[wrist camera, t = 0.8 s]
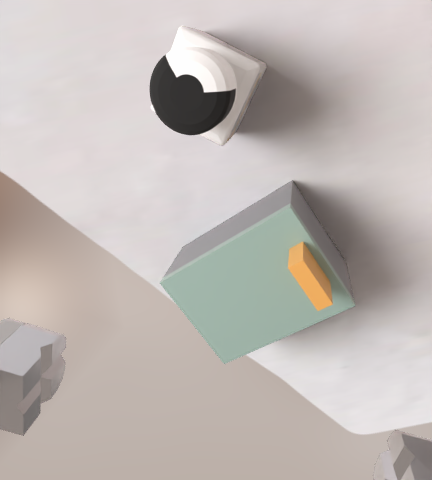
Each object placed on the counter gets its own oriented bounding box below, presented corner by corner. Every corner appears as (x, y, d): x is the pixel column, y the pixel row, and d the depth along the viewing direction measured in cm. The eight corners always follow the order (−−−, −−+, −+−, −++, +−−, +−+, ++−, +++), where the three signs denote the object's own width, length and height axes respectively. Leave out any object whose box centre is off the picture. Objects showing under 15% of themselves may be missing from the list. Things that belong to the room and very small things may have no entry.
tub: (292, 180, 45) (290, 203, 38) (346, 263, 48) (354, 299, 41) (182, 247, 51) (163, 277, 44) (236, 317, 54) (225, 357, 47)
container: (235, 134, 44) (211, 160, 33) (172, 102, 44) (125, 117, 33) (268, 64, 41) (254, 66, 29) (200, 29, 41) (158, 17, 29)
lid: (290, 200, 39) (288, 223, 33) (353, 295, 42) (360, 330, 36) (165, 274, 45) (146, 303, 40) (227, 352, 48) (217, 389, 42)
